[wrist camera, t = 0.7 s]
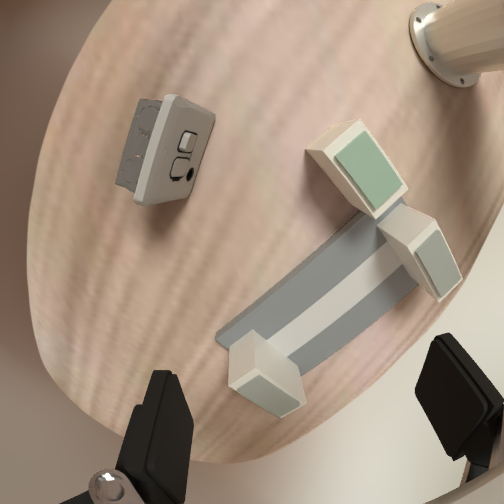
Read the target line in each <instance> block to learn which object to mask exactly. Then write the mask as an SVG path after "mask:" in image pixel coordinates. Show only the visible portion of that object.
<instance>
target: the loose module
mask: <svg viewBox="0 0 504 504" xmlns="http://www.w3.org/2000/svg"><path fill="white" fill-rule="evenodd" d="M305 150H306V151H307V152H308V153H309V154H310V156H311V157H312V158H313V159H314V160H315V161H316V163H317V164H318V165H319V166H320V167H321V168H322V170H323V171H324V172H325V173H326V174H327V176H328V177H329V178H330V179H331V181H332V182H333V183H334V184H335V185H336V187H337V188H338V189H339V190H340V192H341V193H342V194H343V196H344V197H345V198H346V199H347V201H348V202H349V203H350V204H351V205H353V206H354V207H356V208H358V209H359V210H361V211H363V212H364V213H366V214H368V215H369V216H371V217H373V218H374V219H377V218H378V217H379V216H380V215H381V214H382V213H383V212H385V211H386V210H387V209H388V208H389V207H390V206H391V205H392V204H393V203H394V202H395V201H396V200H397V199H398V198H399V197H401V196H402V195H403V194H404V193H405V192H406V191H407V190H408V187H407V186H406V184H405V182H404V181H403V179H402V178H401V176H400V175H399V173H398V172H397V170H396V168H395V167H394V165H393V164H392V163H391V161H390V160H389V158H388V157H387V155H386V154H385V152H384V151H383V150H382V148H381V147H380V145H379V144H378V143H377V141H376V140H375V138H374V137H373V136H372V134H371V133H370V132H369V130H368V129H367V128H366V126H365V125H364V124H363V123H362V121H361V120H360V119H355V120H350V121H344V122H339V123H335V124H333V125H332V126H331V127H330V128H329V129H328V130H326V131H325V132H324V133H323V134H322V135H321V136H319V137H318V138H317V139H316V140H315V141H314V142H312V143H311V144H310V145H309V146H308V147H307V148H306V149H305Z"/></svg>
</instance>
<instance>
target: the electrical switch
mask: <svg viewBox="0 0 504 504" xmlns="http://www.w3.org/2000/svg"><path fill="white" fill-rule="evenodd" d="M145 107H147V108H145ZM157 110H158V111H159V112H158V111H157ZM138 115H139V116H138ZM137 117H138V118H137ZM214 121H215V113H213V112H211V111H209V110H207V109H205V108H203V107H201V106H199V105H197V104H195V103H193V102H191V101H189V100H187V99H184V98H182V97H180V96H177V95H174V94H168V95H166V96H165V97H164V100H163V102H162V101H158V100H147V99H140V100H139V103H138V105H137V108H136V111H135V114H134V118H133V121H132V124H131V127H130V130H129V134H128V137H127V140H126V144H125V147H124V151H123V155H122V159H121V162H120V166H119V170H118V174H117V178H116V183H115V184H117V185H120V186H122V187H125V188H127V189H128V190H129V191H131V192H134V193H135V196H134V201H135V203H136V204H138V205H141V206H144V207H145V206H150V205H154V204H159V203H164V202H168V201H173V200H178V199H183V198H187V197H188V196H189V194H190V193H191V190H192V187H193V183H194V180H195V177H196V174H197V171H198V168H199V165H200V162H201V159H202V156H203V153H204V150H205V147H206V144H207V141H208V138H209V135H210V132H211V130H212V127H213V124H214ZM152 128H153V129H152ZM140 129H141V130H140ZM151 129H152V130H151ZM149 130H151V131H149ZM142 134H144V136H143V135H142ZM136 155H139V156H140V157H141V158H139V157H135V156H136ZM143 155H144V157H143ZM122 172H123V173H122Z"/></svg>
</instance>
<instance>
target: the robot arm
mask: <svg viewBox="0 0 504 504" xmlns="http://www.w3.org/2000/svg"><path fill="white" fill-rule="evenodd" d="M410 33H411V37H412V40H413V43H414V45H415V48H416V50H417V52H418V53H419V55H420V57H421V58H422V60H423V61H424V63H425V64H426V65H427V67H428V68H429V69H430V70H431V71H432V72H433V73H434V74H435V75H436V76H437V77H438V78H439V79H441V80H442V81H444V82H445V83H447V84H449V85H451V86H455V87H470V86H472V85H474V84H475V83H476V82H477V81H478V80H479V78H480V76H481V73H484V72H491V71H499V70H504V0H455V1H453V2H451V3H449V4H447V5H445V6H443V5H440V4H438V3H432V2H431V3H424V4H421V5H420V6H418V7H417V8H415V10H414V11H413V12H412V14H411V17H410ZM415 395H416V397H417V399H418V401H419V402H420V404H421V406H422V408H423V410H424V412H425V413H426V415H427V417H428V419H429V421H430V422H431V424H432V426H433V428H434V430H435V432H436V434H437V436H438V438H439V440H440V442H441V444H442V446H443V448H444V450H445V451H446V454H447V455H448V456H450V457H452V459H453V461H455V460H457V459H459V458H461V457H463V456H464V455H466V457H467V462H466V466H465V470H464V473H463V477H462V480H461V483H460V486H459V487H458V488H456V489H454V490H452V491H450V492H448V493H447V494H444V495H442V496H440V497H438V498H436V499H434V500H431V501H429V502H427V503H425V504H504V404H503V402H504V398H503V397H502V396H501V394H500V393H499V392H498V390H497V389H496V388H495V387H494V385H493V384H492V383H491V381H490V380H489V379H488V378H487V376H486V375H485V374H484V373H483V371H482V370H481V369H480V368H479V366H478V365H477V364H476V363H475V362H474V360H473V359H472V358H471V357H470V355H469V354H468V353H467V352H466V351H465V349H464V348H462V346H461V345H460V344H459V342H458V341H457V340H456V339H455V338H454V337H453V336H452V334H450V333H445V334H441V335H438V336H436V337H435V338H434V340H433V341H432V342H431V344H430V347H429V351H428V354H427V357H426V360H425V362H424V365H423V368H422V371H421V374H420V376H419V379H418V382H417V384H416V387H415ZM193 428H194V423H193V418H192V416H191V413H190V410H189V408H188V405H187V402H186V400H185V397H184V394H183V391H182V388H181V386H180V383H179V380H178V377H177V375H176V374H172V372H171V371H170V370H154V371H153V373H152V376H151V379H150V382H149V385H148V388H147V391H146V394H145V397H144V401H143V404H142V405H141V404H138V405H136V406H135V407H134V409H133V412H132V415H131V418H130V421H129V424H128V428H127V431H126V434H125V437H124V440H123V444H122V447H121V450H120V454H119V457H118V461H117V464H116V467H115V470H114V469H105V470H101V471H99V472H97V473H96V474H94V475H93V477H92V478H91V480H90V482H89V487H88V488H89V489H88V491H86V492H84V493H82V494H80V495H78V496H75V497H73V498H71V499H69V500H67V501H64V502H62V503H60V504H183V503H184V501H185V494H186V485H187V477H188V476H187V475H188V468H189V460H190V452H191V444H192V436H193Z"/></svg>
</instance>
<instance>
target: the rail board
mask: <svg viewBox="0 0 504 504" xmlns="http://www.w3.org/2000/svg"><path fill="white" fill-rule="evenodd" d="M400 203H402V204H404V205H406V203H405V202H404V200H403V198H402V197H399V198H398V199H397V200H396V201H395V202H394V203H393V204H392V205H391V206H390V207H389V208H388V209H387V210H386V211H385V212H383V213H382V214H381V215H380V216H379V217H378V218H377V219H374V218H373V217H371V216H369V215H368V214H366V213H364V212H363V211H360V212H359V213H358V214H357V215H356V216H354V217H353V218H352V219H351V220H350V221H349V222H348V223H347V224H345V225H344V226H343V227H342V228H341V229H340V230H339V231H338V232H336V233H335V234H334V235H333V236H332V237H331V238H330V239H328V240H327V241H326V242H325V243H324V244H323V245H322V246H320V247H319V248H318V249H317V250H316V251H315V252H313V253H312V254H311V255H310V256H309V257H308V258H306V259H305V260H304V261H303V262H302V263H301V264H299V265H298V266H297V267H296V268H295V269H294V270H292V271H291V272H290V273H289V274H288V275H286V276H285V277H284V278H283V279H282V280H280V281H279V282H278V283H277V284H276V285H274V286H273V287H272V288H271V289H270V290H268V291H267V292H266V293H265V294H264V295H262V296H261V297H260V298H259V299H258V300H256V301H255V302H254V303H253V304H251V305H250V306H249V307H248V308H246V309H245V310H244V311H243V312H242V313H240V314H239V315H238V316H237V317H235V318H234V319H233V320H232V321H230V322H229V323H228V324H227V325H225V326H224V327H223V328H222V329H220V330H219V331H218V332H216V338H215V340H216V341H218V342H219V343H220V344H221V345H223V346H224V347H225V348H227V349H228V350H229V349H230V346H231V345H232V344H234V343H235V342H236V341H238V340H239V339H240V338H242V337H243V336H244V335H246V334H247V333H248V332H250V331H251V330H252V329H253V330H254V331H256V332H257V333H258V334H259V335H260V336H262V337H263V338H264V339H265V340H266V341H268V342H269V343H270V344H271V345H272V346H274V347H275V348H276V349H277V350H279V351H280V352H281V353H282V354H284V355H285V356H286V357H287V358H289V359H290V360H291V361H292V362H294V363H295V364H296V365H297V366H298V368H299V372H300V376H302V375H304V374H305V373H307V372H308V371H310V370H311V369H313V368H314V367H316V366H317V365H319V364H320V363H321V362H323V361H324V360H326V359H327V358H328V357H330V356H331V355H333V354H334V353H335V352H337V351H338V350H339V349H341V348H342V347H343V346H345V345H346V344H347V343H349V342H350V341H351V340H353V339H354V338H355V337H357V336H358V335H359V334H360V333H362V332H363V331H364V330H365V329H367V328H368V327H369V326H370V325H372V324H373V323H374V322H375V321H377V320H378V319H379V318H380V317H381V316H383V315H384V314H385V313H386V312H387V311H389V310H390V309H391V308H392V307H393V306H394V305H396V304H397V303H398V302H399V301H400V300H401V299H402V298H404V297H405V296H406V295H407V294H408V293H409V292H410V291H411V290H412V289H414V288H415V287H416V286H417V285H418V283H417V282H416V281H415V280H414V279H412V278H411V277H410V275H409V274H408V272H407V270H406V269H405V267H404V266H403V264H402V262H401V261H400V259H399V258H398V256H397V255H396V253H395V252H394V250H393V249H392V247H391V246H390V244H389V243H388V241H387V240H386V238H385V237H384V235H383V234H382V232H381V231H380V230H379V228H378V227H377V225H378V224H379V223H380V222H381V221H382V220H383V219H384V218H385V217H386V216H388V215H389V214H390V213H391V212H392V211H393V210H394V209H395V208H396V207H397V206H398V205H399V204H400ZM406 206H407V205H406Z"/></svg>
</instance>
